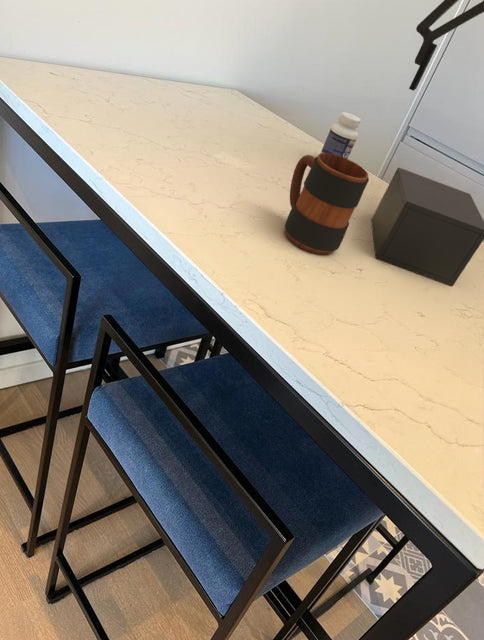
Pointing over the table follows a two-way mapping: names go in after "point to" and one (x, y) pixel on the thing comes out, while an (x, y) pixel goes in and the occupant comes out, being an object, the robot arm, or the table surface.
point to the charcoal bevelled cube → (426, 227)
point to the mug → (323, 201)
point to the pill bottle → (342, 136)
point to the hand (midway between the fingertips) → (452, 106)
